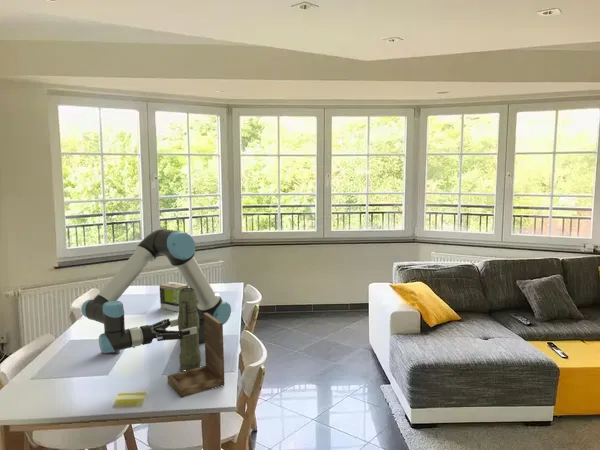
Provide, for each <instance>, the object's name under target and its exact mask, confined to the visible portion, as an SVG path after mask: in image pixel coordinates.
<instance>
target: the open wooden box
mask: <svg viewBox="0 0 600 450" xmlns="http://www.w3.org/2000/svg"><path fill="white" fill-rule="evenodd" d="M204 332H205V342H204V353H205V354H204V355H205V357H204V358H205V365H202V366H201V367H199V368H195V369H191V370H187V371H181V372H177V373H172V374H169V375H167V384H168V385H169V386H170V387H171V389H172V390H173V391H174V392H175V393H176V395H178V396H179V398H180V399H182V398H185V397H189V396H194V395H197V394H199V393H204V392H206V391H210V390H212V388H213V389H216V388H215V387H217V388H219V387H218V386H220V387H222V386H221V385H223V386H225V385H224V384H225V383H226V382H225V357H224V353H225V352H224V325H223V323H222V322H221V321H219V320H218V319H216V318H215V317H213V316H212V315H210V314H208V313H204Z"/></svg>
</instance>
